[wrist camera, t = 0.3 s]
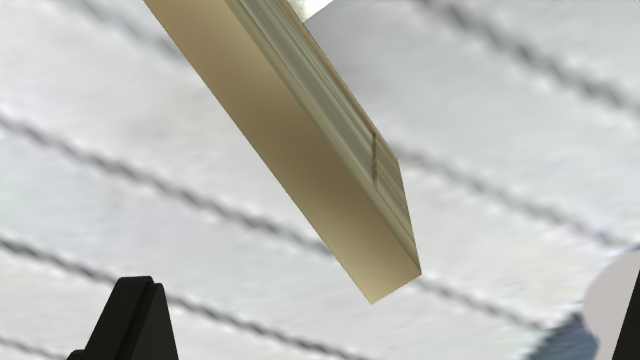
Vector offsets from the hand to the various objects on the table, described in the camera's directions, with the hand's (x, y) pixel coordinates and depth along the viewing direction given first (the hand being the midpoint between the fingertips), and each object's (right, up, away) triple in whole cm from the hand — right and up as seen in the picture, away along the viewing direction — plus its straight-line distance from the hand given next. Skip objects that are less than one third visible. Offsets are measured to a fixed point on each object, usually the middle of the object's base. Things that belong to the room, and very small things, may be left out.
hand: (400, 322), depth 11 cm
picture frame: (-6, +15, +22) cm, 28 cm away
